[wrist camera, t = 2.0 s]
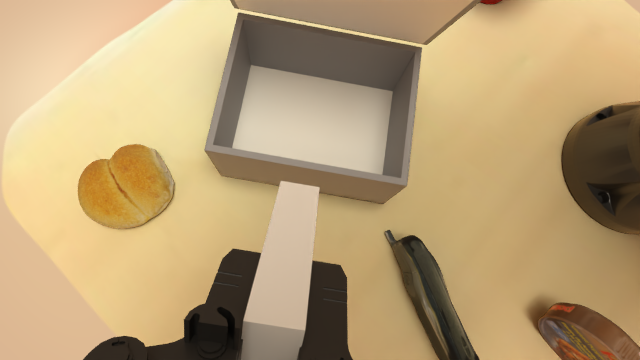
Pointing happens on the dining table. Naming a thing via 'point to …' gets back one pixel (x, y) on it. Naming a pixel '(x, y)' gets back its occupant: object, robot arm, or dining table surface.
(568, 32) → the dining table surface
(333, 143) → the box
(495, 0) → the plastic cup
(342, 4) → the box lid
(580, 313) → the tin
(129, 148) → the bread roll
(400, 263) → the black elongated piece
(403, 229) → the dining table surface
